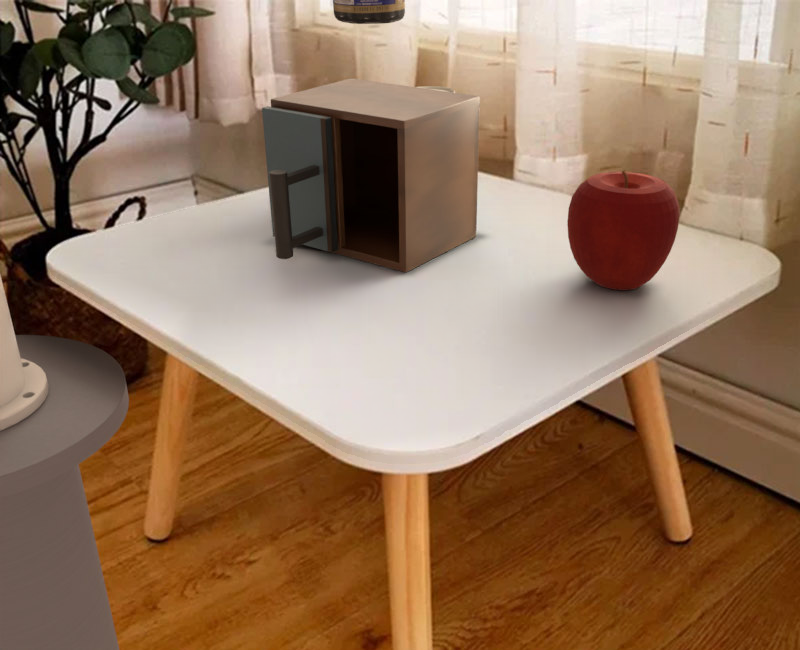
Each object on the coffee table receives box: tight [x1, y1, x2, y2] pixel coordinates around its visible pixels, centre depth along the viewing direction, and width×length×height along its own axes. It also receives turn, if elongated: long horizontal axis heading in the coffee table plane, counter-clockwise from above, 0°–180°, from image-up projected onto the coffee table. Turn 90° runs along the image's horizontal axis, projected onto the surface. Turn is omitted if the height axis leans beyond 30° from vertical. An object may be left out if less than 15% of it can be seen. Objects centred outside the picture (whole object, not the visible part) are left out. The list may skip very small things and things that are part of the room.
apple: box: [567, 170, 681, 291], centre depth 83 cm, size 10×10×10 cm
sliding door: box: [261, 106, 338, 260], centre depth 88 cm, size 7×8×13 cm
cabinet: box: [270, 77, 481, 273], centre depth 93 cm, size 12×16×14 cm
